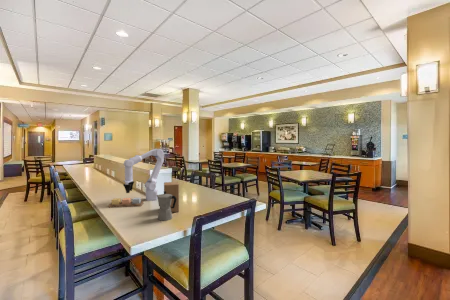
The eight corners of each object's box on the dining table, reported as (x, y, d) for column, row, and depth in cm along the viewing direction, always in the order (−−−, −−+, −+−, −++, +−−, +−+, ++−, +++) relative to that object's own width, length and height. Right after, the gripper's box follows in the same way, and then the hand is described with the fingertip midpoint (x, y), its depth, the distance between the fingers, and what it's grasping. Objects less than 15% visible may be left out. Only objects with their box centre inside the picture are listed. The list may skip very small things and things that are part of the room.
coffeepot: (152, 219, 144) (151, 191, 143) (161, 214, 153) (160, 188, 152) (172, 222, 139) (172, 194, 138) (180, 217, 147) (180, 190, 146)
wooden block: (164, 213, 156) (164, 185, 155) (164, 209, 165) (164, 182, 164) (178, 212, 158) (178, 184, 157) (178, 208, 168) (177, 181, 167)
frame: (143, 204, 177) (143, 200, 177) (141, 207, 169) (140, 203, 169) (112, 205, 174) (112, 202, 174) (108, 208, 166) (108, 205, 166)
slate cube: (140, 203, 176) (140, 197, 175) (139, 205, 171) (139, 199, 170) (134, 204, 175) (134, 197, 175) (132, 206, 170) (132, 199, 170)
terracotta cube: (124, 204, 174) (123, 198, 174) (130, 204, 174) (130, 197, 174) (122, 206, 169) (121, 199, 169) (128, 206, 170) (128, 199, 169)
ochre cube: (120, 204, 173) (120, 198, 173) (118, 206, 168) (118, 199, 168) (114, 204, 173) (113, 198, 172) (111, 206, 168) (111, 200, 168)
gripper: (126, 173, 183) (126, 189, 184) (120, 176, 169) (121, 194, 170) (135, 173, 184) (135, 189, 185) (130, 176, 170) (130, 193, 171)
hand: (129, 191), depth 177 cm, fingers open, 7 cm apart
